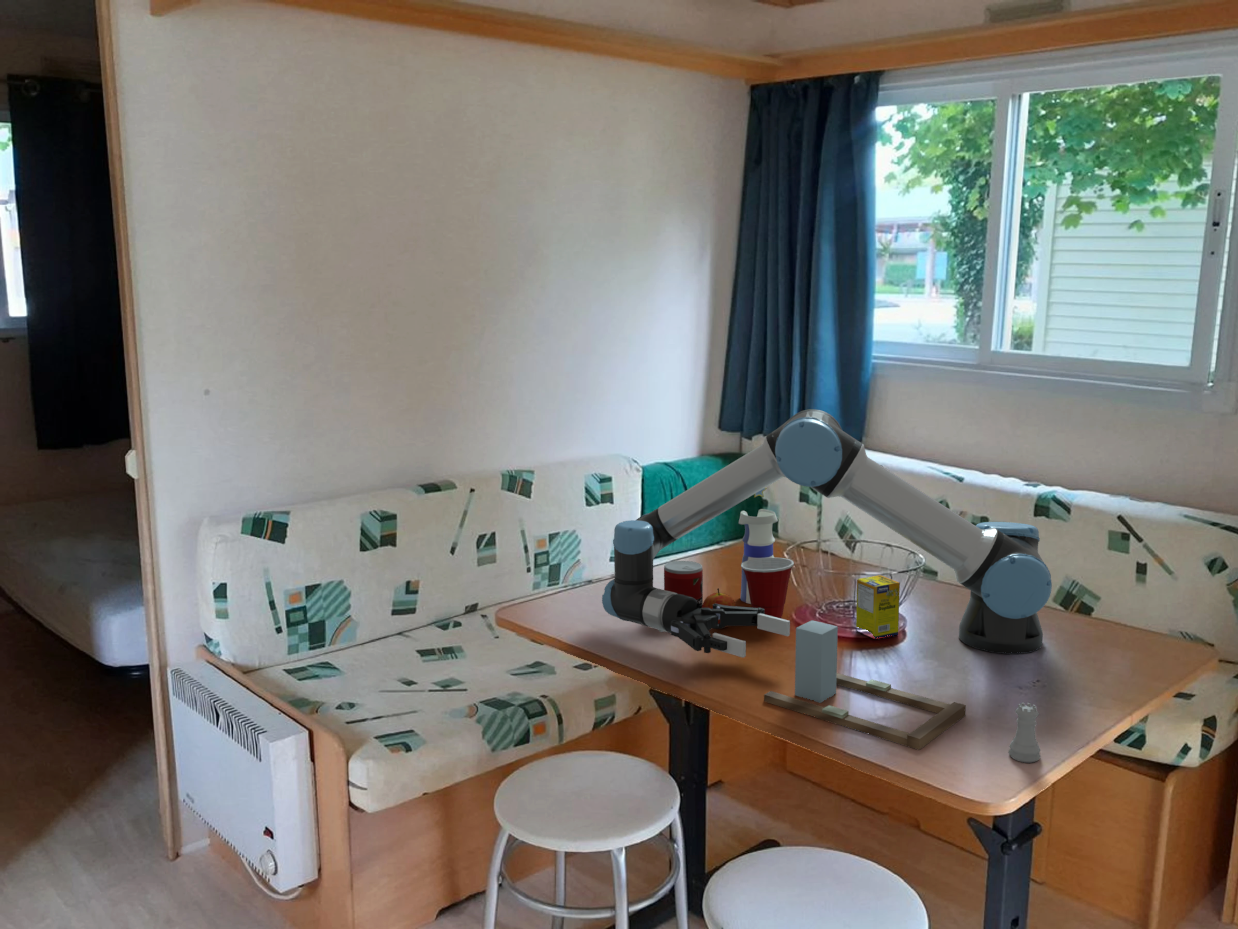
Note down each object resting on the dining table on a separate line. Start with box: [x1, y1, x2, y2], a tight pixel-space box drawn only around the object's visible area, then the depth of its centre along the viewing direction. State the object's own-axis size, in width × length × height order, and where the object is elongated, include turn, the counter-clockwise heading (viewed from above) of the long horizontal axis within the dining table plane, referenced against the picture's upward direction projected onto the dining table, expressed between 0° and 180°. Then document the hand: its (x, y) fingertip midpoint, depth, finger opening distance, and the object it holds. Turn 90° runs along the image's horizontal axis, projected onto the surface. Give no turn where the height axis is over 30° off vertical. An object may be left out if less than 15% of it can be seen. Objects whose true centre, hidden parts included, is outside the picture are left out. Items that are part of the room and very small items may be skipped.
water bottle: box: [738, 487, 779, 605], centre depth 230 cm, size 8×9×25 cm
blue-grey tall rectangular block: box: [794, 619, 839, 704], centre depth 180 cm, size 5×5×12 cm
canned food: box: [663, 560, 704, 608], centre depth 220 cm, size 8×8×11 cm
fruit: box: [702, 588, 737, 628], centre depth 214 cm, size 7×7×8 cm
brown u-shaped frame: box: [763, 672, 967, 751], centre depth 175 cm, size 28×16×2 cm, turn 48°
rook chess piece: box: [1008, 702, 1042, 764], centre depth 157 cm, size 4×4×8 cm
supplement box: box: [855, 574, 901, 639], centre depth 208 cm, size 6×6×11 cm
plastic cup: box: [740, 556, 795, 619], centre depth 219 cm, size 11×11×12 cm
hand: (767, 638), depth 186 cm, fingers open, 13 cm apart
